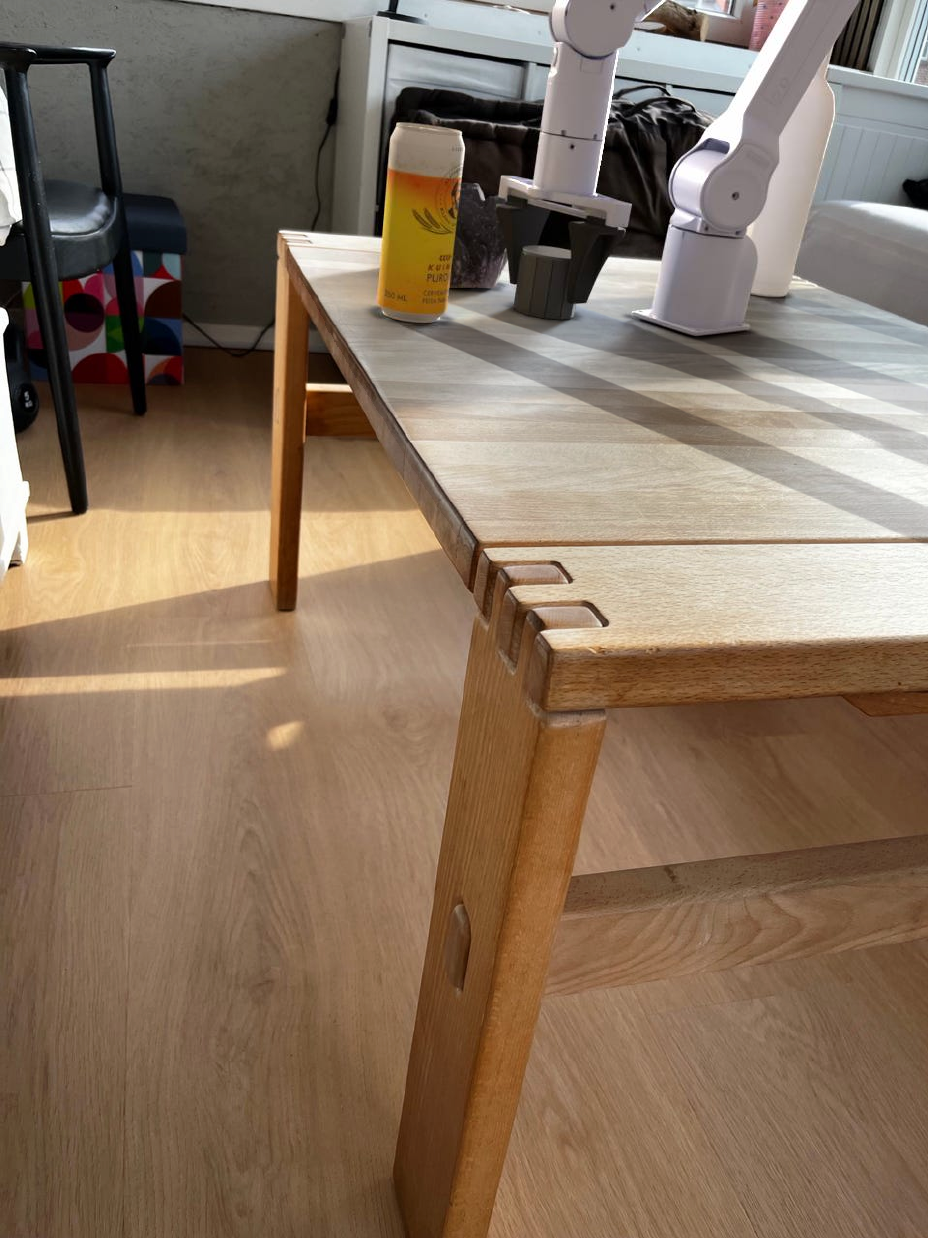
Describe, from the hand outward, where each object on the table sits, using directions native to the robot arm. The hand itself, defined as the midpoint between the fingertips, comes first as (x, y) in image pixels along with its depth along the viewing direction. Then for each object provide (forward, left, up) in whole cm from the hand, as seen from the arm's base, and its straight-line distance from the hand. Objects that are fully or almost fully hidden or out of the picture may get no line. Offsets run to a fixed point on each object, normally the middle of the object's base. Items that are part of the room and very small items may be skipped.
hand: (547, 292), depth 97 cm
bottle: (-39, -2, -2) cm, 39 cm away
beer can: (+15, -2, -2) cm, 15 cm away
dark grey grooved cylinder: (0, 0, -2) cm, 2 cm away
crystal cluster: (+1, -14, -2) cm, 14 cm away
